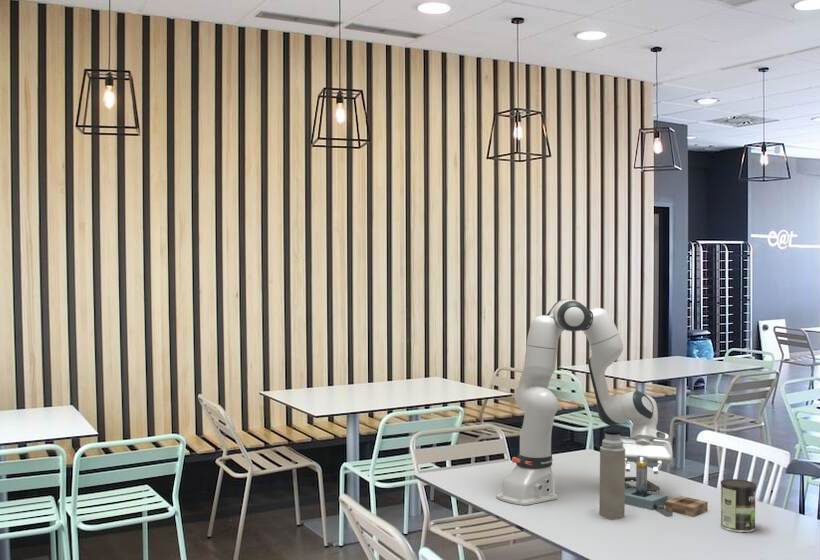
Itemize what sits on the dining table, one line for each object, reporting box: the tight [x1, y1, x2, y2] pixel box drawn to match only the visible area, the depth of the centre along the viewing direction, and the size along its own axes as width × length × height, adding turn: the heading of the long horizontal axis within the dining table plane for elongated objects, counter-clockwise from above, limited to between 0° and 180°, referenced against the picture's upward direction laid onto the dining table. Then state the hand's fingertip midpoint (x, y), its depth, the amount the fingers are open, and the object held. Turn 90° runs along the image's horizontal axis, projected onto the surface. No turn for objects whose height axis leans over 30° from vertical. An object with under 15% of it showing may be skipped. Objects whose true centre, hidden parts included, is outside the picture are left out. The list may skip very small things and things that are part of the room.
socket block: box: [664, 495, 709, 518], centre depth 284 cm, size 10×10×3 cm
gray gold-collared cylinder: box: [635, 455, 648, 497], centre depth 293 cm, size 4×4×16 cm
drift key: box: [653, 504, 673, 518], centre depth 282 cm, size 8×2×2 cm, turn 14°
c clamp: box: [625, 476, 661, 492], centre depth 314 cm, size 20×17×3 cm
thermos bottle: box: [599, 429, 626, 520], centre depth 278 cm, size 8×8×28 cm
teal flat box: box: [625, 488, 669, 511], centre depth 293 cm, size 10×14×3 cm
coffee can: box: [720, 478, 757, 533], centre depth 266 cm, size 10×10×14 cm
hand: (641, 471), depth 292 cm, fingers open, 8 cm apart
